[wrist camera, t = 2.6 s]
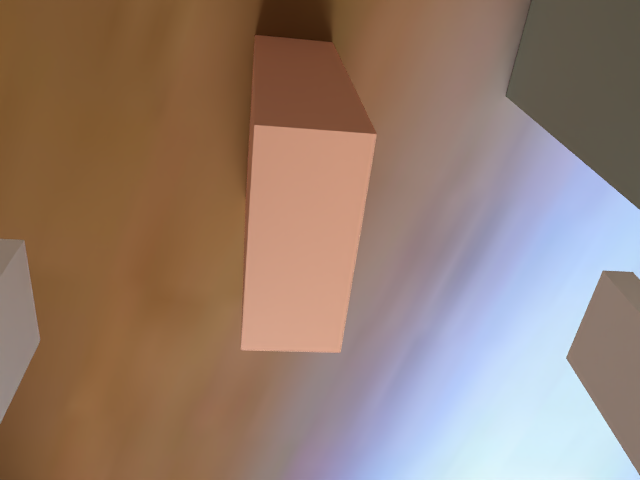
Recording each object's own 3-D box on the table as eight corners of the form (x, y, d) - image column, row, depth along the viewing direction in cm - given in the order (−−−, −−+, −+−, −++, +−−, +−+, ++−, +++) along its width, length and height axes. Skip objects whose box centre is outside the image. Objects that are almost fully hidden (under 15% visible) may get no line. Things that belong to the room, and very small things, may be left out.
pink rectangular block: (245, 199, 26) (241, 350, 18) (254, 34, 23) (254, 124, 14) (313, 203, 27) (340, 352, 18) (332, 42, 23) (376, 134, 15)
